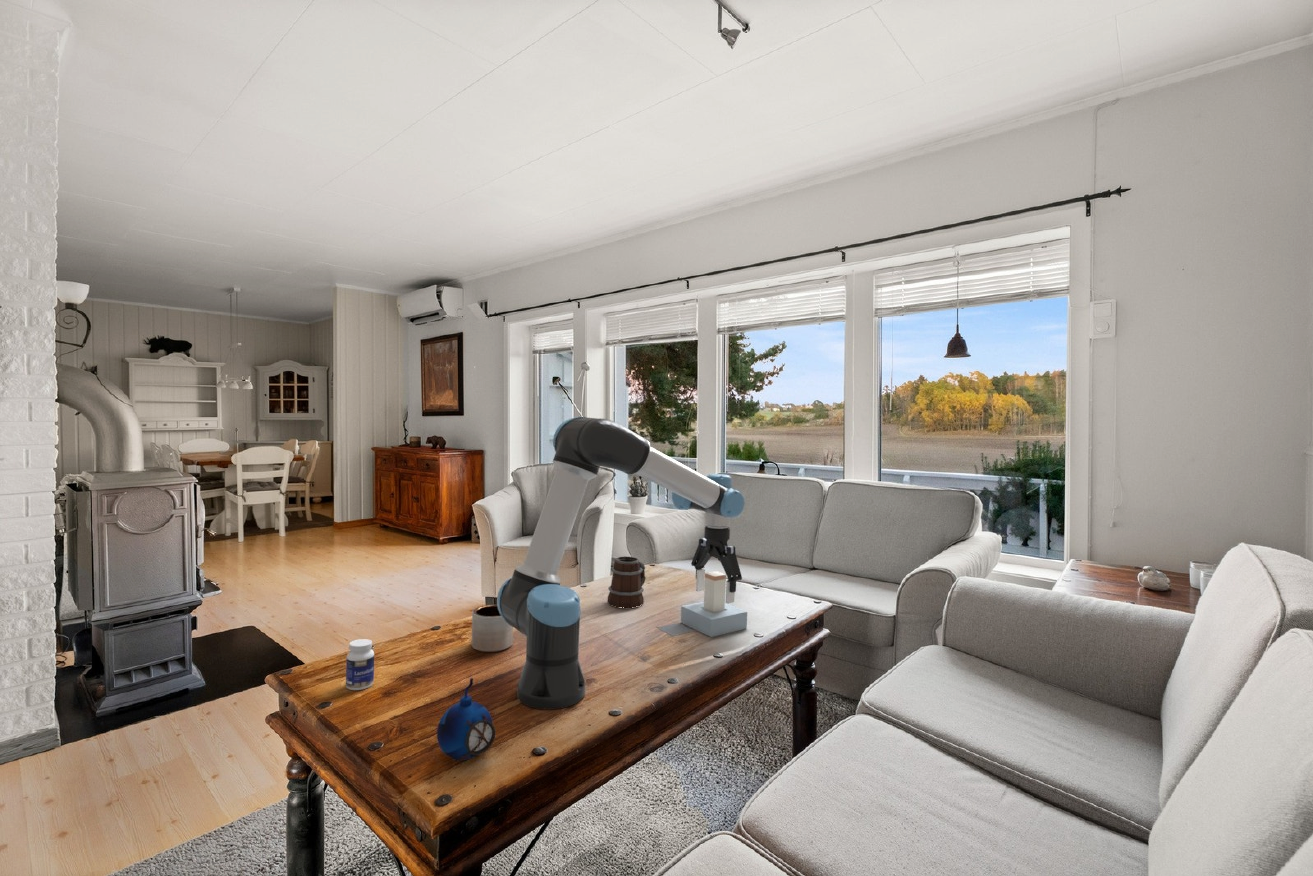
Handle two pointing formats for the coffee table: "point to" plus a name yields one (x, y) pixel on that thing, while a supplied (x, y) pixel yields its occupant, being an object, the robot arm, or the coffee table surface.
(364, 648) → the pill bottle
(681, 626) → the mat
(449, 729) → the bomb
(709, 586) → the peg
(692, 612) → the socket block
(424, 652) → the coffee table surface
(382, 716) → the coffee table surface
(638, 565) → the mug
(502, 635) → the planter
